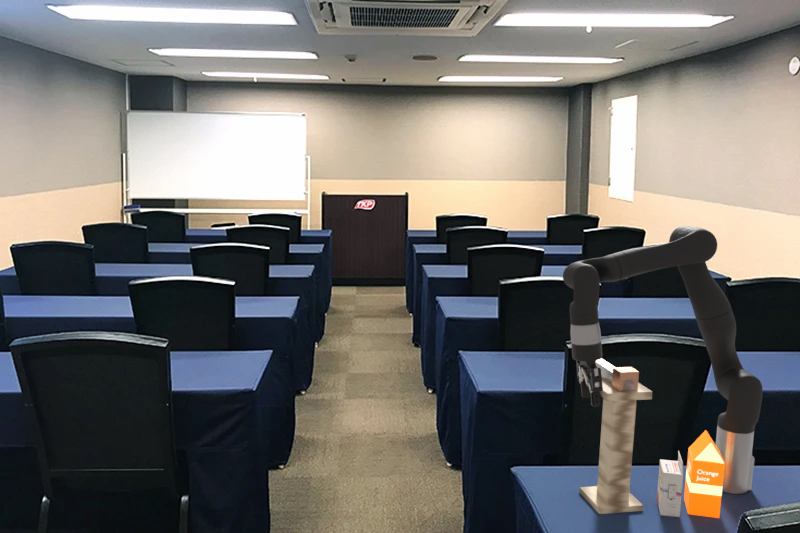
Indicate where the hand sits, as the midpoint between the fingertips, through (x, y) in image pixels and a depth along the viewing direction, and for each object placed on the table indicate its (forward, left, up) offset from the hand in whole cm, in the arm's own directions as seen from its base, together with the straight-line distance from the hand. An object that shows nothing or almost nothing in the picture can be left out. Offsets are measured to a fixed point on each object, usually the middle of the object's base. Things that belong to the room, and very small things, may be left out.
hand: (591, 401), depth 196 cm
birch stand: (-6, +2, -27) cm, 28 cm away
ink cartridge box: (-19, +8, -27) cm, 34 cm away
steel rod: (-6, -4, +5) cm, 9 cm away
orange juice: (-28, +9, -27) cm, 40 cm away
